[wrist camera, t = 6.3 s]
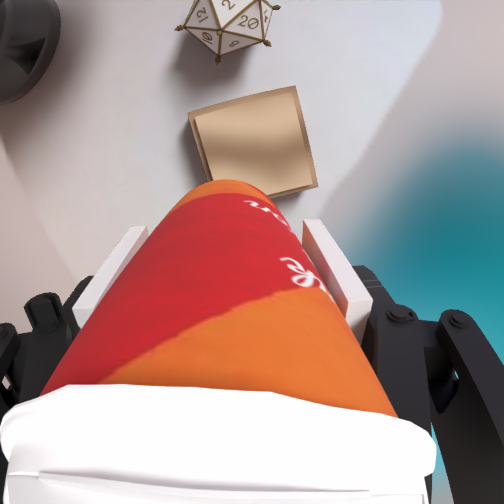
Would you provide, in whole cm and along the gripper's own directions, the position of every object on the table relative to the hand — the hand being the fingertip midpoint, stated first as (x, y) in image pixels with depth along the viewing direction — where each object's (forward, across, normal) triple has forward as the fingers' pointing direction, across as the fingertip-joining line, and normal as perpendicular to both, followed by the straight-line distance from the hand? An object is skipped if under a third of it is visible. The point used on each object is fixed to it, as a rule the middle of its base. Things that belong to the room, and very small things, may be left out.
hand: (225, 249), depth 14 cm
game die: (+19, 0, +16) cm, 25 cm away
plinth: (+19, +2, +3) cm, 19 cm away
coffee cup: (+2, 0, 0) cm, 2 cm away
